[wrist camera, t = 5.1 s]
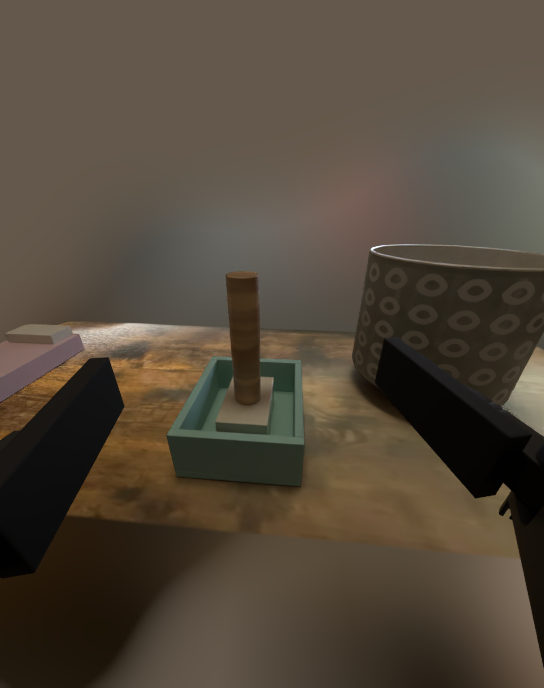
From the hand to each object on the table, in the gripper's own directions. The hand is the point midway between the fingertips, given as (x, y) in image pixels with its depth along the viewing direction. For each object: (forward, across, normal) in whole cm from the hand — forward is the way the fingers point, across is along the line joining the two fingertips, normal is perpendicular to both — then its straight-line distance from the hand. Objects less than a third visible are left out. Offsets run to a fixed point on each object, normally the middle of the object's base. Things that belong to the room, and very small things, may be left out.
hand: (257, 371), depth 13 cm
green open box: (+12, 0, -15) cm, 19 cm away
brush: (+12, 0, -14) cm, 18 cm away
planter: (+17, +25, -15) cm, 33 cm away
